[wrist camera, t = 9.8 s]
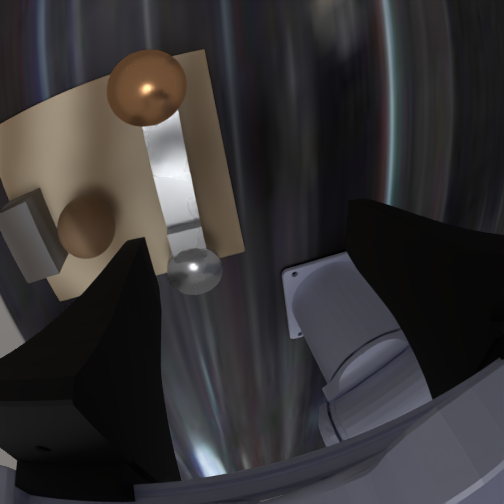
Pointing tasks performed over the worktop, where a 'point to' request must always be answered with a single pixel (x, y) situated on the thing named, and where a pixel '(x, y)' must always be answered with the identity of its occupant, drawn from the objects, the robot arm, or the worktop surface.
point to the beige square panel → (107, 179)
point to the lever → (166, 160)
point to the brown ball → (86, 227)
